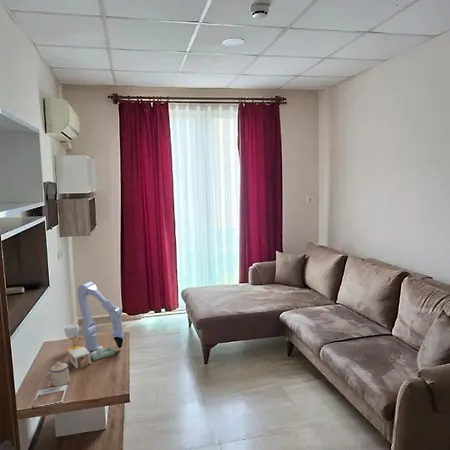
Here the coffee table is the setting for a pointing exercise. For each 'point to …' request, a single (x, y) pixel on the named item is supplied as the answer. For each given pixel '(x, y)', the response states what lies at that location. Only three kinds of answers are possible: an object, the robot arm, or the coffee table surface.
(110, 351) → the tray
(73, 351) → the shelf
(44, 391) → the photo frame
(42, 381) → the coffee table surface
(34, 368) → the coffee table surface
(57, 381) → the teacup with lid
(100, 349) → the round-ended grey cylinder
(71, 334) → the cup
